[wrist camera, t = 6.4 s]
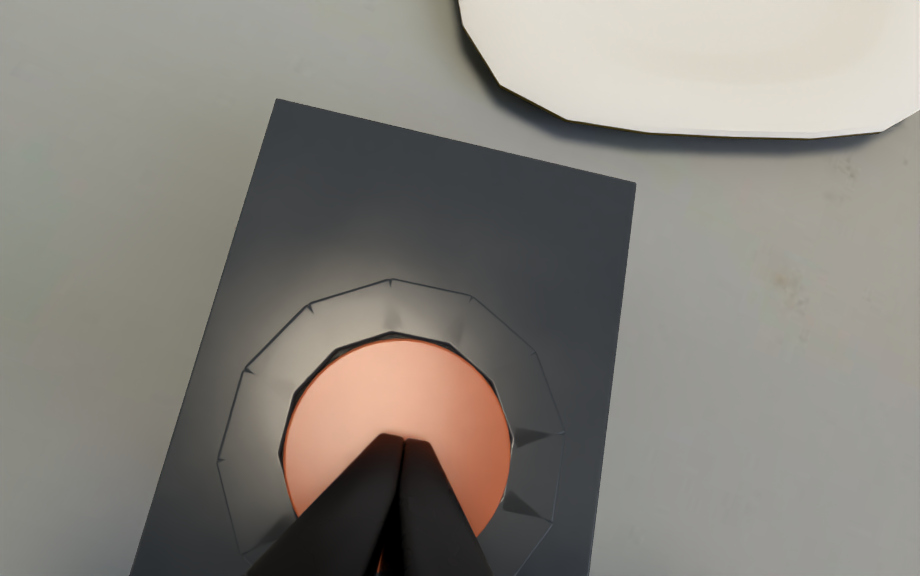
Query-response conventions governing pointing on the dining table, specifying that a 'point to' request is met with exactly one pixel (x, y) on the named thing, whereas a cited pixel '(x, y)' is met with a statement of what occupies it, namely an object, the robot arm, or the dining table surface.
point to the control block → (401, 329)
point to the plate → (707, 63)
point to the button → (400, 421)
